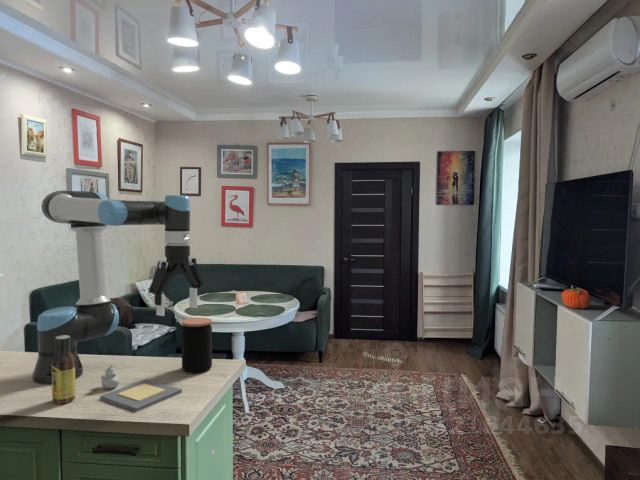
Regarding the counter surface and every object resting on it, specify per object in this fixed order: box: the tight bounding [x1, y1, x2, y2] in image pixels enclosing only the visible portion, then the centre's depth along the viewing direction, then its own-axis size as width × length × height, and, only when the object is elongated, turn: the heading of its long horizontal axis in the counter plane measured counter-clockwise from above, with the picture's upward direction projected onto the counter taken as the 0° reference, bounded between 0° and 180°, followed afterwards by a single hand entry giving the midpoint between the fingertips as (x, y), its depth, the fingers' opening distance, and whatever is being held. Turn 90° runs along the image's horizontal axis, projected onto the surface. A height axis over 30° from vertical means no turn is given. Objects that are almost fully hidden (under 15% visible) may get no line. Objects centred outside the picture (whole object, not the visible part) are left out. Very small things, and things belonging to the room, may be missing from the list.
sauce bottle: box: [51, 335, 77, 405], centre depth 140 cm, size 7×6×20 cm
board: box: [99, 378, 183, 413], centre depth 145 cm, size 17×17×1 cm
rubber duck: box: [100, 364, 120, 389], centre depth 152 cm, size 5×7×8 cm
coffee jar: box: [181, 317, 213, 374], centre depth 170 cm, size 11×11×18 cm
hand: (177, 311), depth 147 cm, fingers open, 13 cm apart
